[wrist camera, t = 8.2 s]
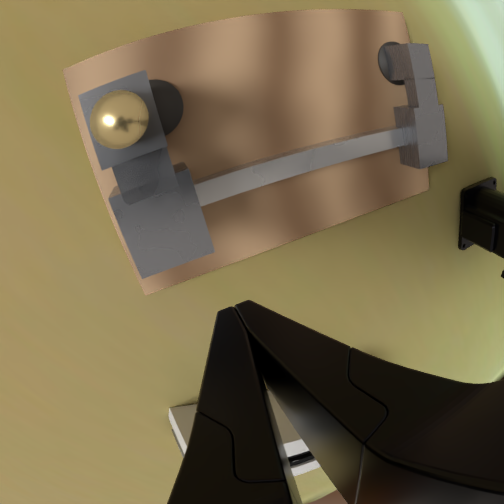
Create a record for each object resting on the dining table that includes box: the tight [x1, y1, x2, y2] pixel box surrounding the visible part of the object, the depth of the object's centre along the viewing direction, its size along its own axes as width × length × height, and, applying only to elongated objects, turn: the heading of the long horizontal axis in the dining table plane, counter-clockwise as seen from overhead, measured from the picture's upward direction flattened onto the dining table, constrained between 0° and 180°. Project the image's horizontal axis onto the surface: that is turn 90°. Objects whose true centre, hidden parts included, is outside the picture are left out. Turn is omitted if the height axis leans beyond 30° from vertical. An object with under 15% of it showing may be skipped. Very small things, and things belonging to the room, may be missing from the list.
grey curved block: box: [169, 391, 320, 476], centre depth 24 cm, size 17×5×10 cm, turn 88°
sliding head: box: [78, 70, 215, 279], centre depth 13 cm, size 4×8×7 cm, turn 14°
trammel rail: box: [193, 43, 448, 206], centre depth 16 cm, size 20×8×3 cm, turn 104°
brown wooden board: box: [63, 9, 429, 295], centre depth 18 cm, size 22×14×1 cm, turn 104°
